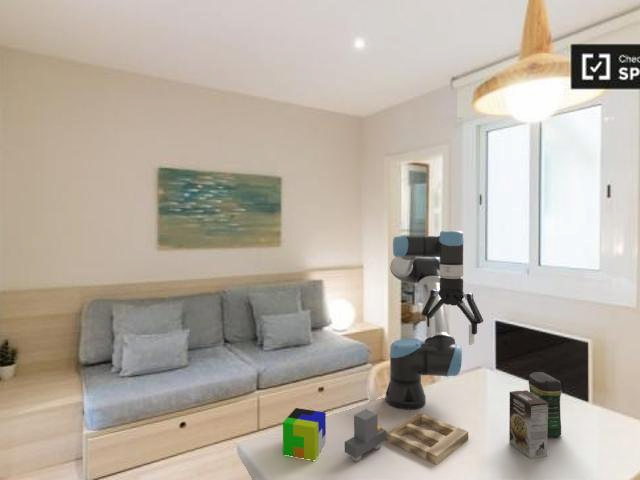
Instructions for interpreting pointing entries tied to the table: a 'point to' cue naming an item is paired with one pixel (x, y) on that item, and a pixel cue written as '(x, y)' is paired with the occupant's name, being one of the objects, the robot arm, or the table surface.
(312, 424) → the puzzle toy
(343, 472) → the table surface
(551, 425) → the coffee jar
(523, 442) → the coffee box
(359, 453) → the grey stepped block
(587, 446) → the table surface
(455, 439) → the keyhole board
